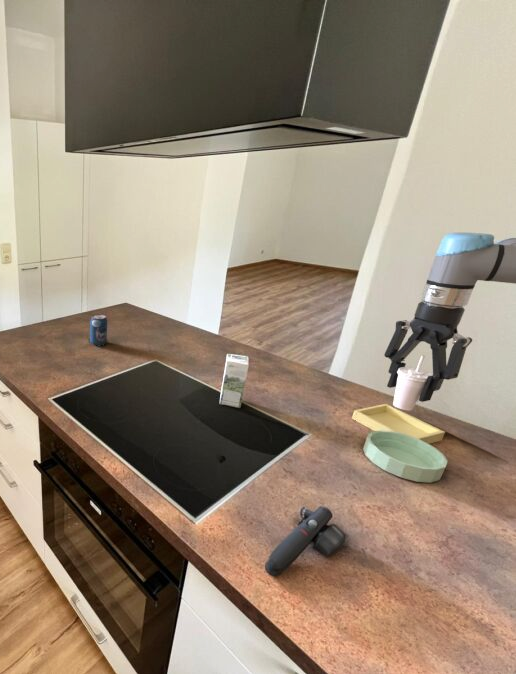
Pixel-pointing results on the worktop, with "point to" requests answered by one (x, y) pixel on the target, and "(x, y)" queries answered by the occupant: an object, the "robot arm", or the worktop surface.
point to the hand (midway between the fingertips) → (407, 392)
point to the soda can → (98, 329)
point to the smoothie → (409, 386)
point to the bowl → (405, 456)
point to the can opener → (306, 540)
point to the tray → (397, 423)
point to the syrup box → (234, 380)
